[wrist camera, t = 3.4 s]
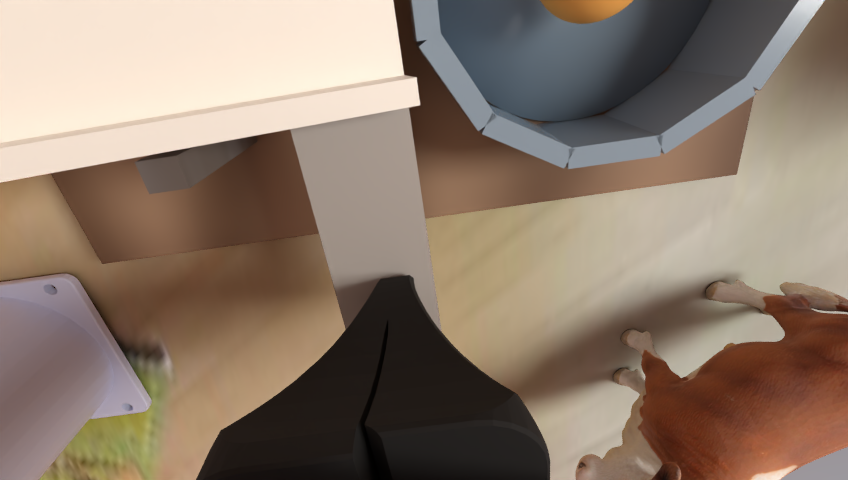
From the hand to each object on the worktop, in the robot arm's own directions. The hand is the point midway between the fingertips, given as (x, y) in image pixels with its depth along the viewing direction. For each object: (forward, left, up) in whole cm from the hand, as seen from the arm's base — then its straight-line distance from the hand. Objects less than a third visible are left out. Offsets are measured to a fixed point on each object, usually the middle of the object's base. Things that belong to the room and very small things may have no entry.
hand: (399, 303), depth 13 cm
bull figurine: (+12, -8, -5) cm, 15 cm away
